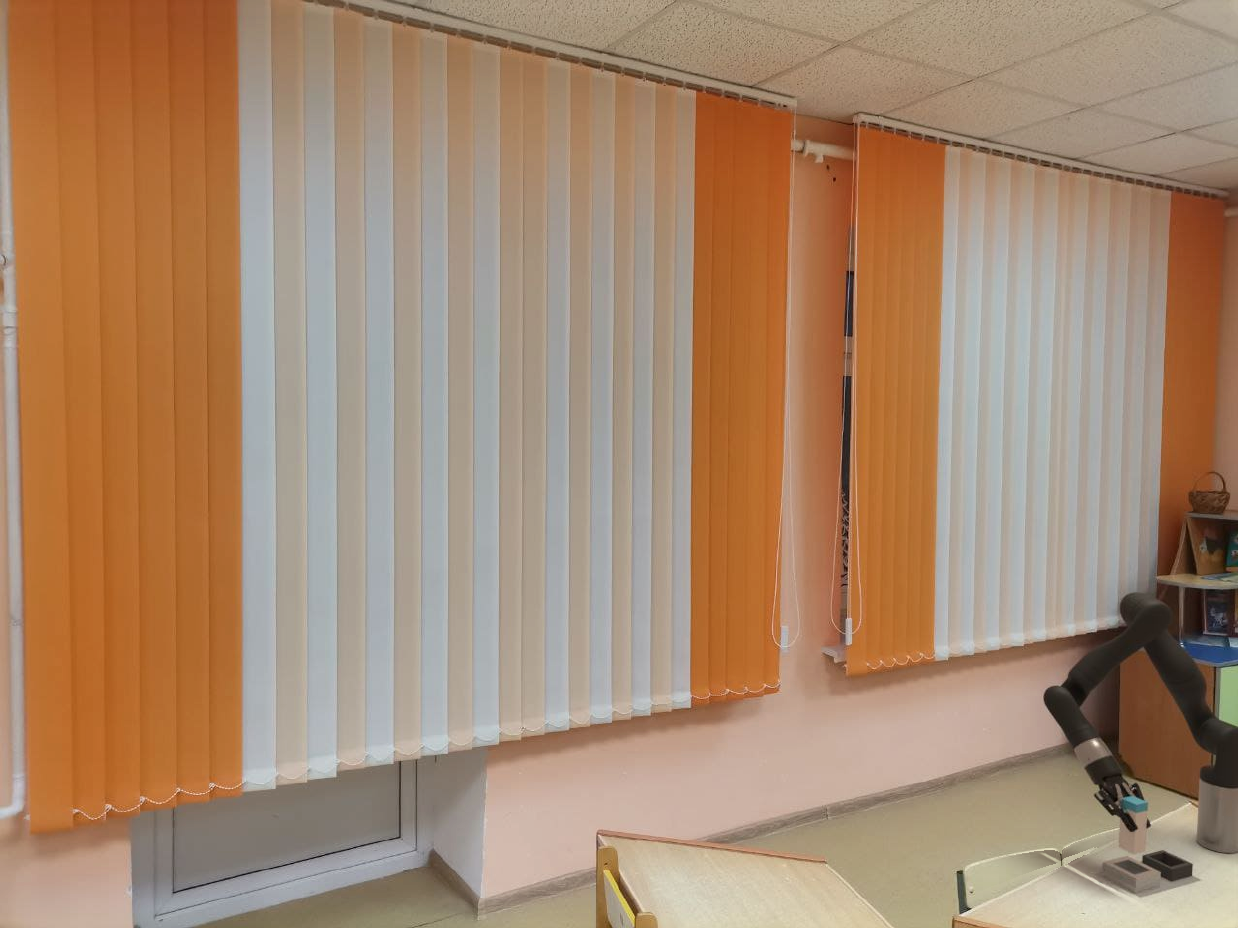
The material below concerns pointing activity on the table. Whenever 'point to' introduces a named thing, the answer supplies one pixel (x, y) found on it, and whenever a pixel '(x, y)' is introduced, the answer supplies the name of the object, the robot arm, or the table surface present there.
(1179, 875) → the dark grey square socket
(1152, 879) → the port
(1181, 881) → the panel
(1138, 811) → the plug
